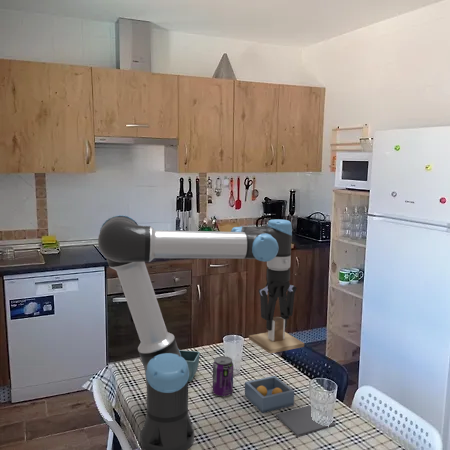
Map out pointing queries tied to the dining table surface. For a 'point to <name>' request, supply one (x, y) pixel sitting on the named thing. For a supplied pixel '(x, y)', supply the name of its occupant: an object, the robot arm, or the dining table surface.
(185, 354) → the flower pot
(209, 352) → the dining table surface
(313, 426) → the mat
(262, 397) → the dish
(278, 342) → the lid
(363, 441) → the dining table surface
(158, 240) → the robot arm
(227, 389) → the beverage can
